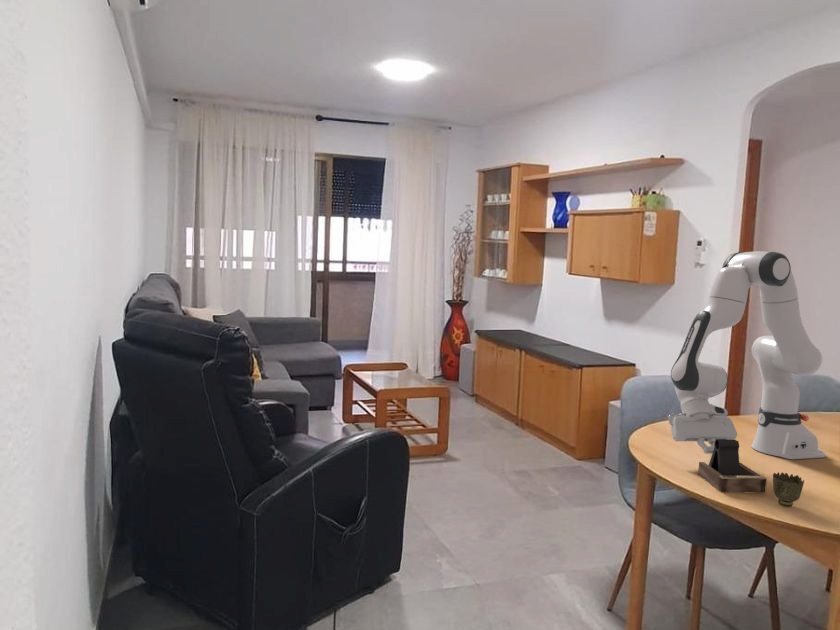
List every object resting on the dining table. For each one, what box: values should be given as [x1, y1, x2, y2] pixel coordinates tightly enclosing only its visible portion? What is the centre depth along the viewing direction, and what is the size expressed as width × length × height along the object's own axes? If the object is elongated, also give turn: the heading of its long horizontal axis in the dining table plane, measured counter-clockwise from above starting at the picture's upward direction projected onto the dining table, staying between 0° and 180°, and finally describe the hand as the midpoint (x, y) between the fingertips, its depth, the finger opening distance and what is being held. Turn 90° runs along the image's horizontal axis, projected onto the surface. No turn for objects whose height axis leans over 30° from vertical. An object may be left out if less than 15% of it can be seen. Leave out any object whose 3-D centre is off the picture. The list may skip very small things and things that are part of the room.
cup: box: [772, 472, 805, 508], centre depth 178 cm, size 8×7×8 cm
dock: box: [697, 461, 768, 494], centre depth 193 cm, size 13×14×4 cm
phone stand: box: [708, 439, 741, 476], centre depth 197 cm, size 9×6×12 cm, turn 4°
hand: (710, 452), depth 206 cm, fingers closed
